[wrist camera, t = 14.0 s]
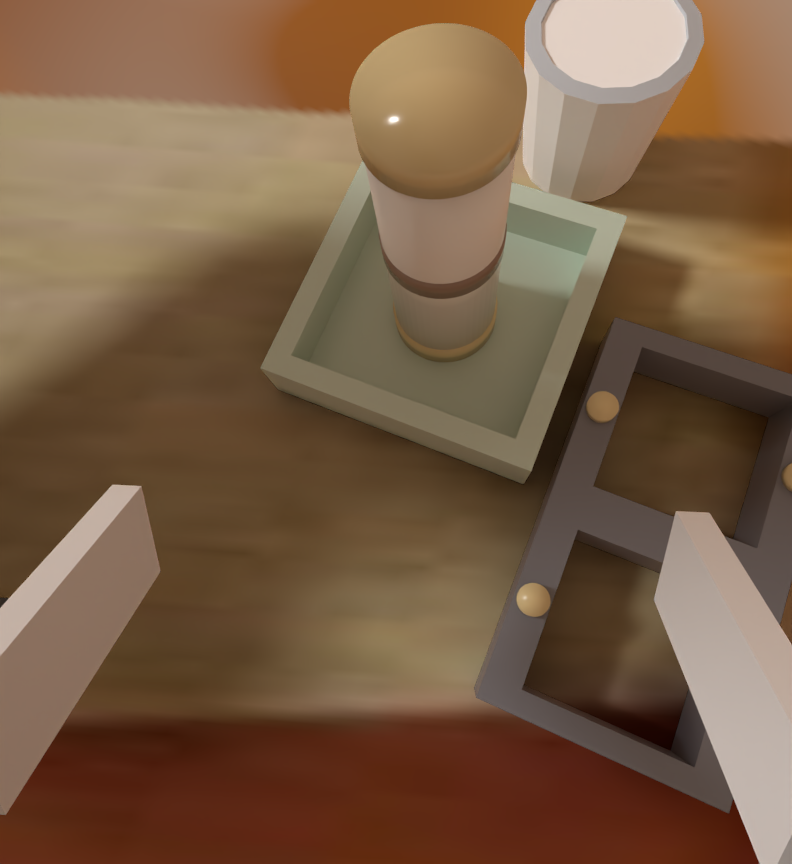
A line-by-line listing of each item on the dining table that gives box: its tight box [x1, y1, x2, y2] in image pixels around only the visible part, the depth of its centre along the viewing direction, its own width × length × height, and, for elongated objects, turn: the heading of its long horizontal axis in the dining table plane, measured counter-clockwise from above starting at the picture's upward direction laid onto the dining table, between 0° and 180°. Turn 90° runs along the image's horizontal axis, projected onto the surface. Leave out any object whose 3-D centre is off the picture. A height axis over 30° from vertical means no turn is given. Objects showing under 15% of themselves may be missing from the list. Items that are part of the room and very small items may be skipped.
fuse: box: [349, 23, 527, 362], centre depth 22 cm, size 5×5×13 cm
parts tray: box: [260, 161, 627, 485], centre depth 28 cm, size 12×12×3 cm
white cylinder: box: [523, 0, 704, 202], centre depth 28 cm, size 7×7×7 cm
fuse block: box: [474, 317, 792, 813], centre depth 24 cm, size 9×16×3 cm, turn 157°
